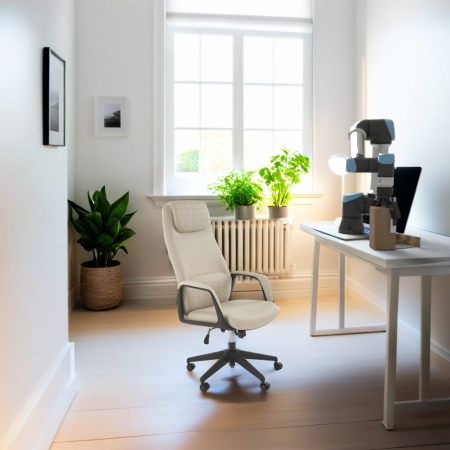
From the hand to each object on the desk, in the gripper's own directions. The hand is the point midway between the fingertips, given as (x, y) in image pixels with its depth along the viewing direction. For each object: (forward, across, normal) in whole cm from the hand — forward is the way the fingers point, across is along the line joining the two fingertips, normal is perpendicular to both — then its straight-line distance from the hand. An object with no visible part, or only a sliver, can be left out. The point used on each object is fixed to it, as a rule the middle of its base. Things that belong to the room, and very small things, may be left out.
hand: (382, 230), depth 240 cm
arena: (+9, -3, +13) cm, 16 cm away
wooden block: (+9, 0, 0) cm, 9 cm away
